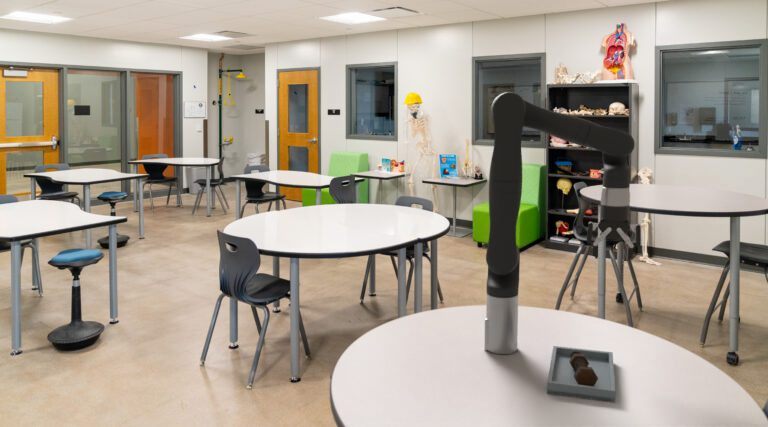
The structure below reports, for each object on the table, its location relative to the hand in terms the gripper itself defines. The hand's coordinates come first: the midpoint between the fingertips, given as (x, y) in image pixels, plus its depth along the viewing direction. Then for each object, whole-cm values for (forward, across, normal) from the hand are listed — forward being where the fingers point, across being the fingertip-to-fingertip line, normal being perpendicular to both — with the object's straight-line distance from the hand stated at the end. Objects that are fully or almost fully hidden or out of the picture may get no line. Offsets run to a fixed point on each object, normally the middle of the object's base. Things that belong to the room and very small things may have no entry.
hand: (612, 259), depth 170 cm
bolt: (+27, -7, -20) cm, 35 cm away
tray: (+28, -7, -19) cm, 35 cm away
